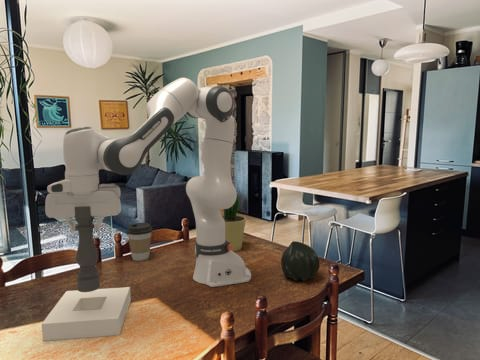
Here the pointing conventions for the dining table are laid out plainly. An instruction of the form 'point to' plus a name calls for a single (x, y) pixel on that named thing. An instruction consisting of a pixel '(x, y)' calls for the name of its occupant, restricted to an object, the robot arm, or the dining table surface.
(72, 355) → the dining table surface
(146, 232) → the coffee cup
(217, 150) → the robot arm
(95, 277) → the candle holder
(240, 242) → the potted cactus
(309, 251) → the squash
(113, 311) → the socket block
